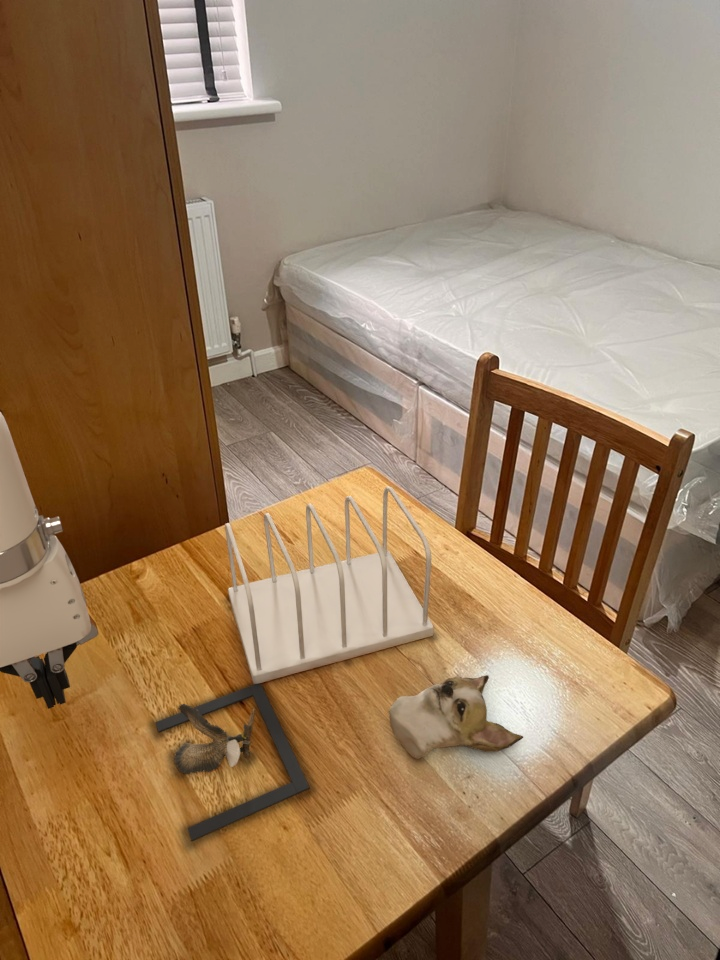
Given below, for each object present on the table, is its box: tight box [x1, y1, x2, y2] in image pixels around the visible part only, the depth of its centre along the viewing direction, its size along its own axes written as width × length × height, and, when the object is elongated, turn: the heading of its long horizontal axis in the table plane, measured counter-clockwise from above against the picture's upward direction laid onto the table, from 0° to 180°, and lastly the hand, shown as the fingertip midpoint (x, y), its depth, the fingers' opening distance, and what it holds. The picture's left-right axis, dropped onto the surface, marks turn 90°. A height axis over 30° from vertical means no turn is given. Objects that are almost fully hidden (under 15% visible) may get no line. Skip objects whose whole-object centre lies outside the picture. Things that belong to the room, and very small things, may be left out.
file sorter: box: [224, 486, 434, 685], centre depth 99 cm, size 25×17×16 cm
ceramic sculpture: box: [388, 674, 524, 760], centre depth 85 cm, size 11×9×15 cm
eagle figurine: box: [173, 703, 256, 775], centre depth 84 cm, size 8×7×9 cm
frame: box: [155, 683, 310, 842], centre depth 85 cm, size 14×16×1 cm
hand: (55, 694), depth 69 cm, fingers closed
